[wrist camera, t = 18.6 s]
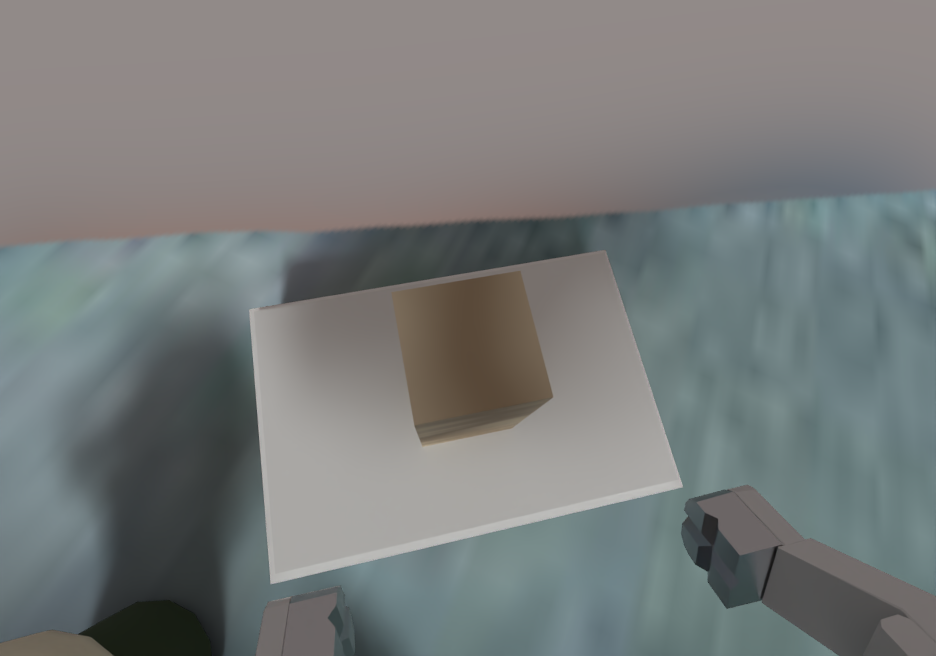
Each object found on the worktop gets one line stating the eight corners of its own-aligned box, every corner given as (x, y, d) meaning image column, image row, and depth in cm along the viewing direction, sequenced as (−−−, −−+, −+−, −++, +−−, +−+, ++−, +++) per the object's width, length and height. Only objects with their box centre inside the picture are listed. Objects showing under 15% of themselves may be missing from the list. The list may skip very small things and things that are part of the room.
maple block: (422, 446, 21) (414, 425, 13) (406, 358, 22) (391, 292, 14) (511, 428, 21) (553, 397, 14) (491, 343, 22) (520, 270, 15)
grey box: (300, 566, 23) (265, 587, 19) (278, 336, 27) (244, 304, 22) (642, 486, 26) (689, 487, 21) (581, 283, 29) (609, 244, 24)
